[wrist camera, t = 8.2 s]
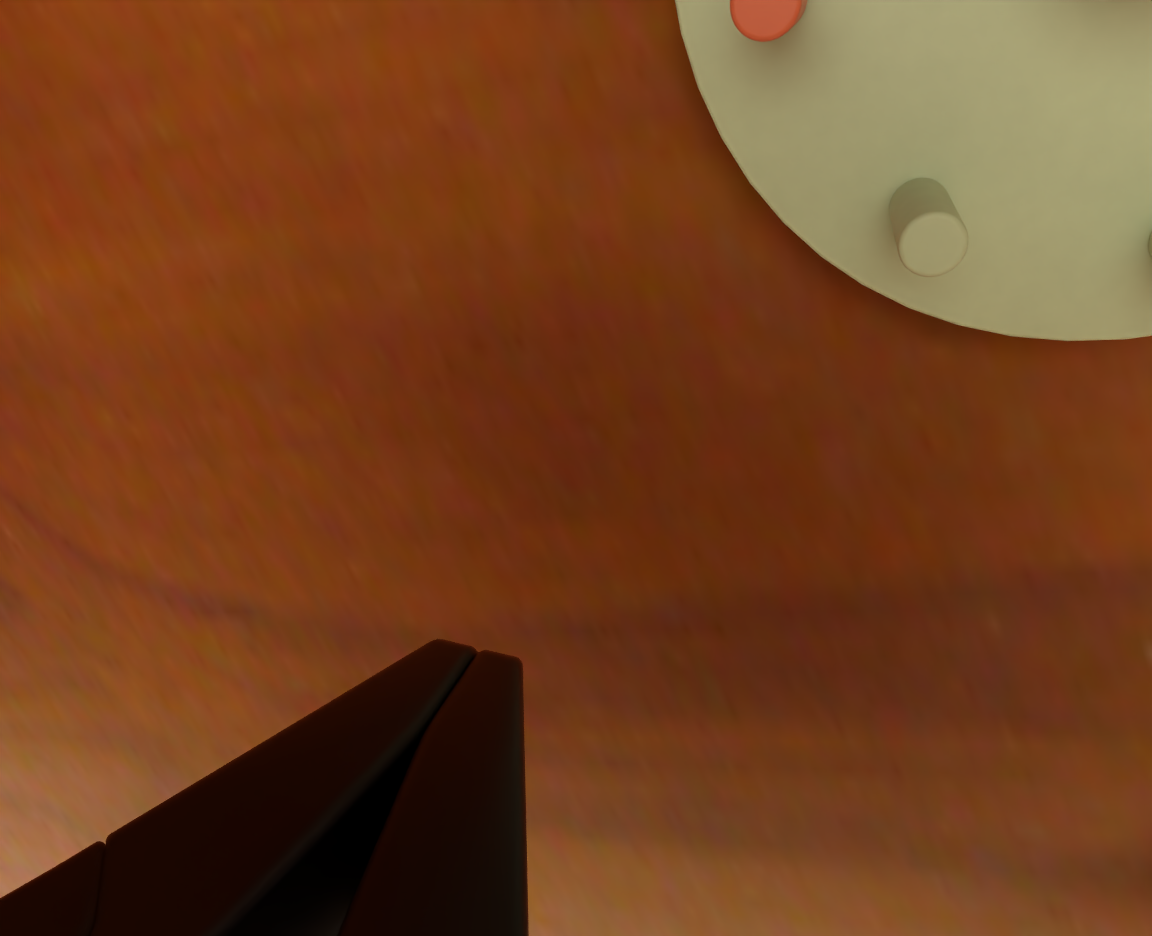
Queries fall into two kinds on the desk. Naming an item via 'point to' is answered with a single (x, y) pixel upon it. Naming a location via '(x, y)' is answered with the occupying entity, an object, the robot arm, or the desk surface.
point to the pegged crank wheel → (950, 148)
